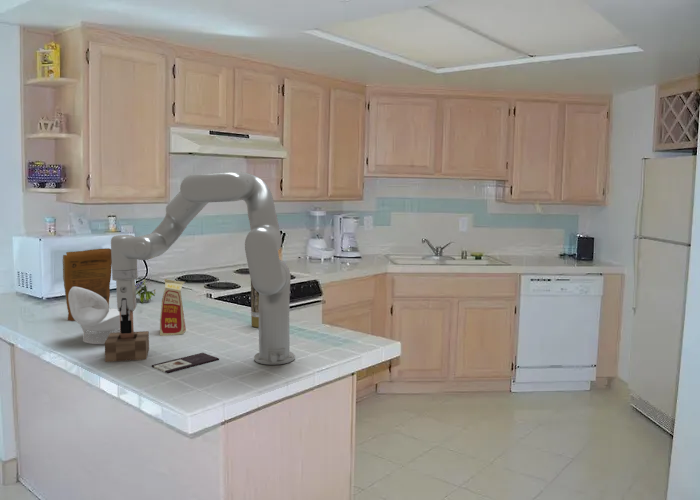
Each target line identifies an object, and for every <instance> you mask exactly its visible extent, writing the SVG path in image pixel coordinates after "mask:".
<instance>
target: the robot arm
mask: <svg viewBox="0 0 700 500" xmlns="http://www.w3.org/2000/svg"><path fill="white" fill-rule="evenodd" d="M179 186H180V187H179V190H180V191H179V192H178V193H177V194H176V195H175V196H174V198H172V200H170V201H169V203H168V204H167V205H166V206H165V216H164V218H163V220H162V221H161V222H160V223H159V225H157V227H155V229H154V230H153V231H152V232H151V233H149V234H145V235H141V236H134V235H129V234H119V235H114V236H112V237H111V238H110V249H111V258H112V267H111V279H112V281H116V283H115V285H116V286H115V287H116V306H117V309H118V311H119V312H120V311H121V321H120V326H121V333H122V334H124V333H131V332H132V326H131V320H130V310H132V311H133V312H134V311H135V310H136V308H137V305H138V303H137V295H136V288H135V285H136V280H139V273H138V261H148V260H151V259H153V258H156V257H160V256H162V255H163V254H164V253H166V252H167V251H168V250H169V249H170V247H172V245H174V244H175V242H176V241H177V240H178V239H180V237H181V236H182V234H183V232H185V230H186V229H187V227H188V225H189V224H190V223H191V222H192V221H193V220H194V219H195V218H196V216H198V214H199V213H200V212H201V211H202V210H203V209H204V208H205V207H206V206H207V205H208V204H209V203H228V202H238V201H244V202H245V204H246V209H247V218H248V221H249V227H250V231H249V232H248V233H247V235H246V237H245V239H244V251H245V257H246V263H247V266H248V267H247V268H248V272H249V278H250V283H251V282H252V285H253V287H254V288H255V290H256V291H257V292H259V327H258V352H257V353H256V354H255V355H254V356H253V359H254V361H255V362H256V363H257V364H261V365H268V366H269V365H271V366H277V365H284V364H288V363H291V362H293V361H294V360H295V357H296V356H295V353H294V352H291V350H290V346H291V345H290V343H291V342H290V339H291V338H290V336H291V335H290V297H291V296H290V295H291V279H292V277H291V276H292V275H291V270H290V268H289V266H288V264H287V263H286V262H285V261H283V260H281V259H280V255H279V250H280V249H281V246H282V243H283V241H282V239H283V238H282V236H281V235H282V234H281V230H280V226H279V221H278V220H279V219H278V216H277V212H276V207H275V202H274V198H273V194H272V191H271V189H270V188H269V186H268V184H267V183H266V182H265V181H264V180H263V179H261V178H260V177H258V176H256V175H254V174H252V173H247V172H242V171H237V172H236V171H233V172H231V171H230V172H215V173H213V172H211V173H191V174H188V175H187V176H185V177H184V178H183V180H182V181H181V183H180V185H179ZM120 307H121V308H120ZM126 309H129V311H126ZM127 313H128V314H127Z"/></svg>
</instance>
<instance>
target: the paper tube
mask: <svg viewBox="0 0 700 500" xmlns="http://www.w3.org/2000/svg"><path fill="white" fill-rule="evenodd" d="M250 305H251V306H250V311H251V312H250V316H251V318H250V319H251V320H250V321H251V322H250V323H251V326H252V327H253V328H259V292H257V291H256V290H255V288H254V287H253V285H252V282H251V281H250Z"/></svg>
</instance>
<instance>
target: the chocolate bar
mask: <svg viewBox="0 0 700 500" xmlns="http://www.w3.org/2000/svg"><path fill="white" fill-rule="evenodd" d="M216 361H220V358H219V357H216V356H214V355H210V354H207V353H206V352H200V353H195V354H192V355H188V356H183V357H179V358H175V359H172V360H171V359H170V360H166V361H163V362H157V363H154V364H151V368H154V369H156V370H158V371H162V372H163V373H166V374H171V373H175V372H179V371H182V370H186V369H190V368H193V367H197V366H201V365H205V364H208V363H212V362H216Z"/></svg>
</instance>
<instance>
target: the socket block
mask: <svg viewBox="0 0 700 500" xmlns="http://www.w3.org/2000/svg"><path fill="white" fill-rule="evenodd" d="M149 333H150V332H149V330H146V331H145V330H143V331H134V339H121V338H120V333H110V334H109V336H108V338H107V339H106V341H105V344H104V361H105V363H109V362H110V363H111V362H125V361H139V360H141V361H142V360H147V358H148V355H149V351H150V336H149Z"/></svg>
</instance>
